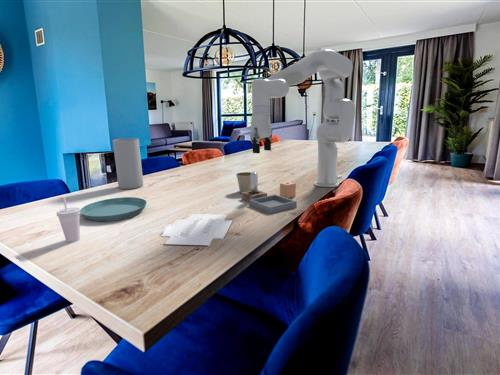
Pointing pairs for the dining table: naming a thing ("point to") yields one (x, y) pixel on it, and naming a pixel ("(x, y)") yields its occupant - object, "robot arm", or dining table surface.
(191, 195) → the dining table surface
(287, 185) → the orange block with knob
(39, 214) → the dining table surface
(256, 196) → the walnut bore block
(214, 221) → the white flat piece
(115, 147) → the cylinder vase
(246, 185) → the flower pot
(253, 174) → the steel pin
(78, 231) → the smoothie
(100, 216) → the teal plate
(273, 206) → the grey square tray
